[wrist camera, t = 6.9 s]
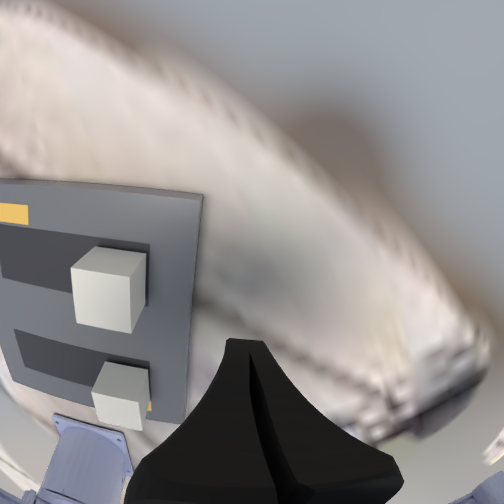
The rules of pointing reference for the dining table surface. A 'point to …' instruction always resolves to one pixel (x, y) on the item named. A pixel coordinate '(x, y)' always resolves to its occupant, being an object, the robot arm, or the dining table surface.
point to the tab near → (109, 288)
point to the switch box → (61, 293)
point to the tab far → (122, 395)
